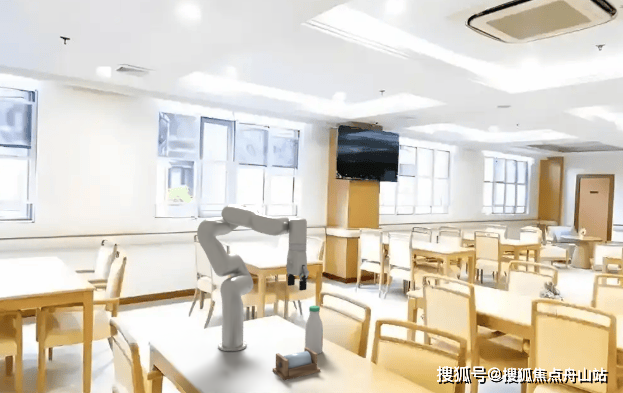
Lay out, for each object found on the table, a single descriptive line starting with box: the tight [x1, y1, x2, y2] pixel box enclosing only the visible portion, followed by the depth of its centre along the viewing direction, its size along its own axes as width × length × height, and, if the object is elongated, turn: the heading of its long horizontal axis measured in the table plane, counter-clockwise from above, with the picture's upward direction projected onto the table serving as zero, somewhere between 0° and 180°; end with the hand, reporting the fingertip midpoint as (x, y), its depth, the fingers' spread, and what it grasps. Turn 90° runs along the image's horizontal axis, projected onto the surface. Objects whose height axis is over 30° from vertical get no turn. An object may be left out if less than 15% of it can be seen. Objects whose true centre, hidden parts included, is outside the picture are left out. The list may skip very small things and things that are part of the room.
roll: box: [282, 351, 311, 369], centre depth 172 cm, size 10×6×6 cm, turn 122°
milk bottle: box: [304, 305, 324, 355], centre depth 193 cm, size 8×8×20 cm
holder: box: [272, 346, 321, 381], centre depth 172 cm, size 10×16×7 cm, turn 122°
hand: (296, 287), depth 184 cm, fingers open, 9 cm apart
